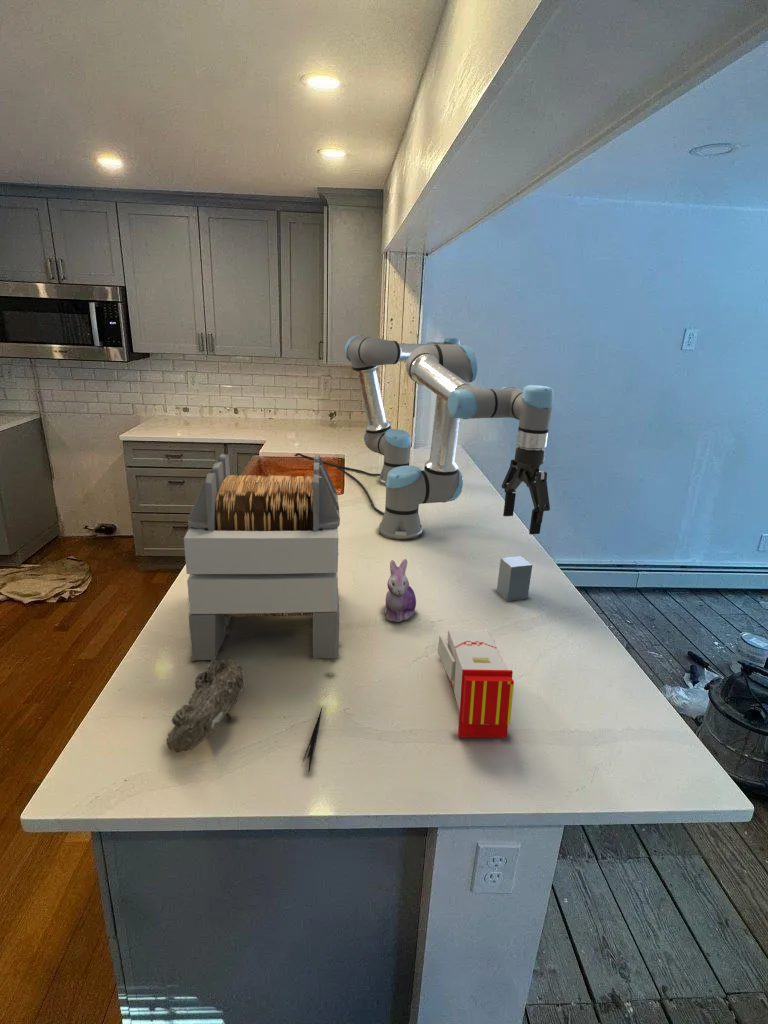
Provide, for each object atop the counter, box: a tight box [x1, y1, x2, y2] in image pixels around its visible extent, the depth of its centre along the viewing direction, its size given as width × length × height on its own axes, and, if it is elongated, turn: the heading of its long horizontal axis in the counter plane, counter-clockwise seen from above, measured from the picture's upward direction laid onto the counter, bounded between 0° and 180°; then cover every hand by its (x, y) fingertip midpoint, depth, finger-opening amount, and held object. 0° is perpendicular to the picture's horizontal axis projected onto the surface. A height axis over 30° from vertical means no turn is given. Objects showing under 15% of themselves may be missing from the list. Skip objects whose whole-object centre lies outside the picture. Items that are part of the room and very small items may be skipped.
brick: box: [496, 555, 533, 602], centre depth 158 cm, size 6×6×10 cm
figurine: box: [384, 558, 417, 623], centre depth 145 cm, size 9×10×15 cm
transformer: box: [183, 453, 341, 662], centre depth 134 cm, size 34×33×41 cm
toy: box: [437, 628, 515, 738], centre depth 117 cm, size 12×13×30 cm
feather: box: [301, 673, 332, 771], centre depth 108 cm, size 2×28×2 cm
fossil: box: [166, 658, 245, 754], centre depth 106 cm, size 22×10×15 cm
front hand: (520, 524), depth 153 cm, fingers open, 13 cm apart
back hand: (446, 415), depth 280 cm, fingers open, 13 cm apart
